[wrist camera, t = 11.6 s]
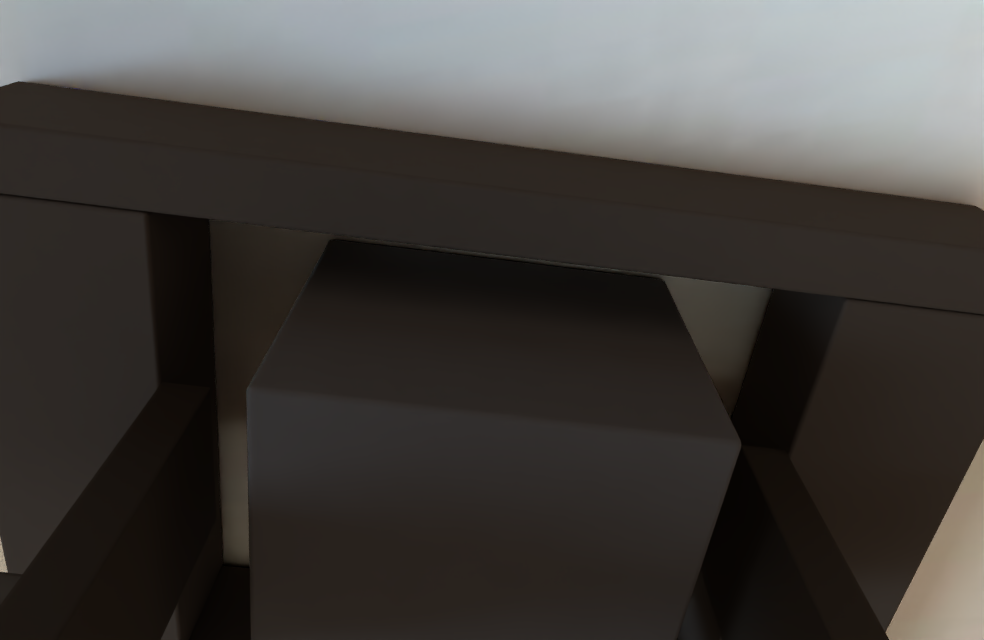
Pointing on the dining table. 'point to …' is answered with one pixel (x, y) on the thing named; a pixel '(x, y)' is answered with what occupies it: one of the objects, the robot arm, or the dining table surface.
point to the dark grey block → (480, 454)
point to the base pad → (486, 229)
